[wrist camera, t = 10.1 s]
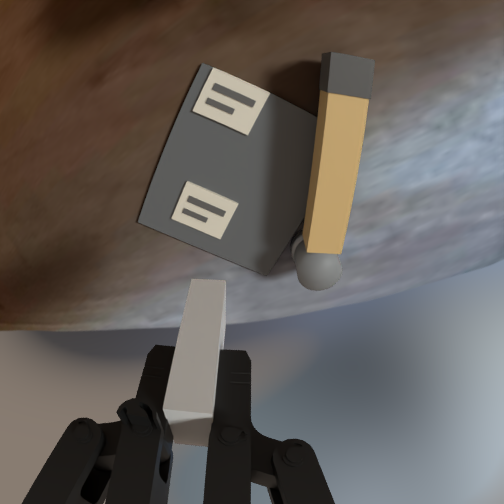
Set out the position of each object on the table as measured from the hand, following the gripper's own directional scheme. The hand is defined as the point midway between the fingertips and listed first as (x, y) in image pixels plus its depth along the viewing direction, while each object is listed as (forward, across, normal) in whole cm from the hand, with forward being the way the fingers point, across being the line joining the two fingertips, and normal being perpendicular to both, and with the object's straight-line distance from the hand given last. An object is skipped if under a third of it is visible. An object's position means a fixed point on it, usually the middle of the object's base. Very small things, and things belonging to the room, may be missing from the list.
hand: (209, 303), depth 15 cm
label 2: (+16, -2, -3) cm, 16 cm away
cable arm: (+15, +8, +2) cm, 17 cm away
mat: (+16, +1, 0) cm, 16 cm away
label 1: (+16, 0, +7) cm, 18 cm away
